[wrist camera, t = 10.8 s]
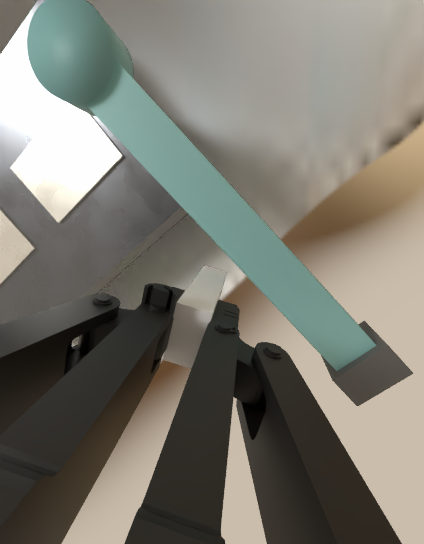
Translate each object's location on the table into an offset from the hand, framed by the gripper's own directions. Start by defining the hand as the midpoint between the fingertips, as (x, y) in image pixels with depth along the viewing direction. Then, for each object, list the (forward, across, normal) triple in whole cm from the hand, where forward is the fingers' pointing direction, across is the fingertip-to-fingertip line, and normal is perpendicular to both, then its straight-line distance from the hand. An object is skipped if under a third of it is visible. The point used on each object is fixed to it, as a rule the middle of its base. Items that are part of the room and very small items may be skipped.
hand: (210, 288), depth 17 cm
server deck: (+7, -15, +1) cm, 17 cm away
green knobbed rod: (0, 0, +5) cm, 5 cm away
